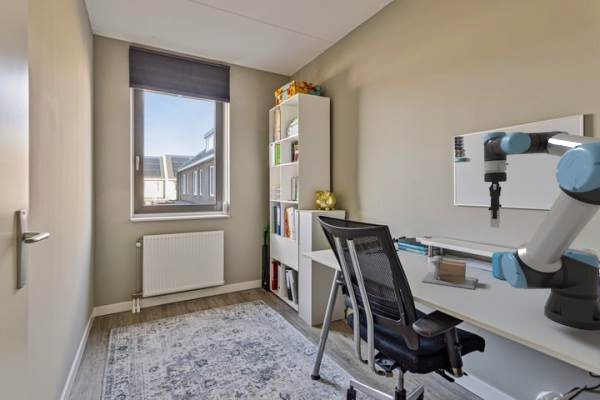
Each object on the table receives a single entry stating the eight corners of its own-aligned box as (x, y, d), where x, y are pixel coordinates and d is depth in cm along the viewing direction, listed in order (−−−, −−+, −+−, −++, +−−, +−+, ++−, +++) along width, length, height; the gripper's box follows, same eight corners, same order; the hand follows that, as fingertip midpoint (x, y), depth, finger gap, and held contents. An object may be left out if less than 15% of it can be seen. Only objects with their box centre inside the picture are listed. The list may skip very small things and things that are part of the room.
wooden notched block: (463, 283, 135) (464, 266, 135) (439, 279, 141) (440, 262, 140) (465, 279, 141) (466, 262, 140) (442, 275, 147) (442, 259, 146)
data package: (516, 275, 145) (516, 251, 144) (523, 278, 140) (523, 253, 140) (492, 276, 145) (491, 252, 144) (498, 279, 140) (498, 254, 140)
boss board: (473, 289, 129) (473, 266, 128) (422, 282, 141) (421, 261, 140) (476, 279, 142) (476, 258, 142) (429, 273, 154) (429, 253, 154)
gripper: (506, 171, 107) (506, 230, 108) (506, 171, 127) (506, 221, 129) (482, 172, 111) (482, 228, 112) (485, 172, 132) (486, 220, 133)
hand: (495, 225), depth 120 cm, fingers open, 13 cm apart
